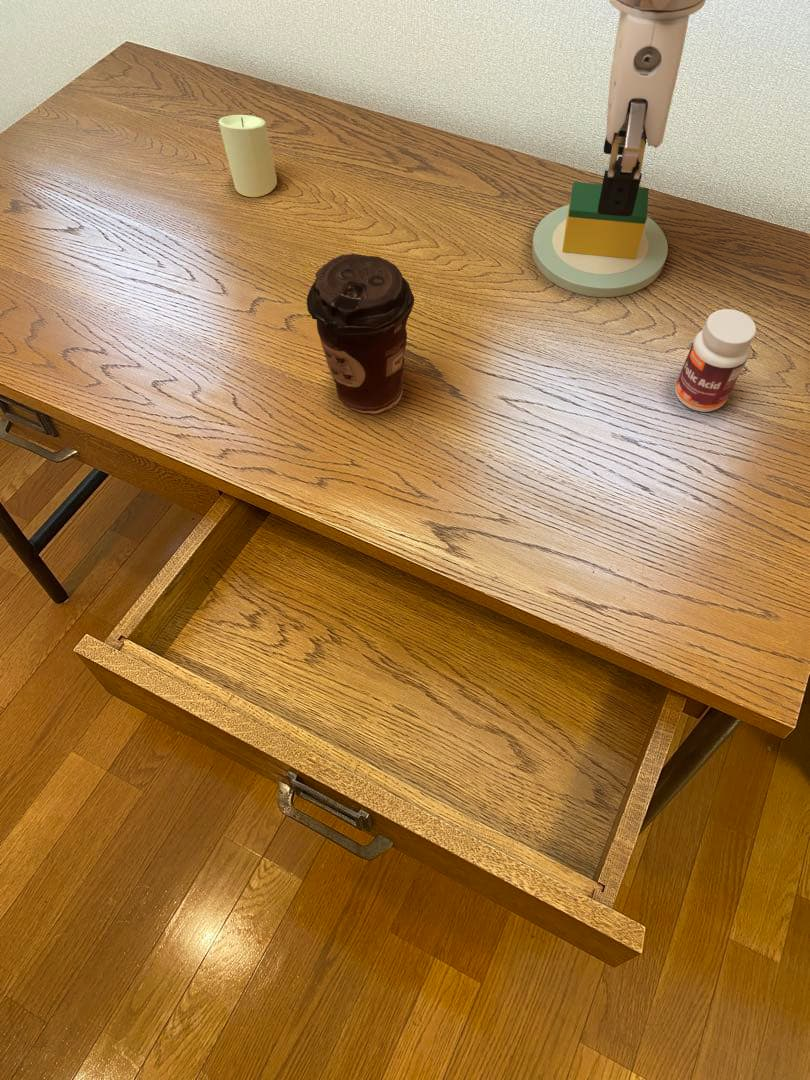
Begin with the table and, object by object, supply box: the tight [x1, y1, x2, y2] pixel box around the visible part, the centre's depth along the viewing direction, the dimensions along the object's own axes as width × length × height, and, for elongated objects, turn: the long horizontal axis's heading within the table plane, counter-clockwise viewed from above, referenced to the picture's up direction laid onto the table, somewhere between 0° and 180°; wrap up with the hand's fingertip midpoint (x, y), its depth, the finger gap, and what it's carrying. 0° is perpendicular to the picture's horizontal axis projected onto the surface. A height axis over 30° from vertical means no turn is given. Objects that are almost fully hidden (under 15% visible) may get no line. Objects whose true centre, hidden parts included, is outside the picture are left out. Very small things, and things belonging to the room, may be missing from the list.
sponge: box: [562, 181, 649, 259], centre depth 76 cm, size 8×5×5 cm, turn 79°
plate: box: [531, 204, 669, 298], centre depth 79 cm, size 14×14×1 cm
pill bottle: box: [674, 308, 757, 413], centre depth 65 cm, size 5×5×8 cm
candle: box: [217, 114, 278, 198], centre depth 84 cm, size 5×5×8 cm
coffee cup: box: [306, 253, 415, 415], centre depth 65 cm, size 9×8×13 cm
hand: (616, 182), depth 72 cm, fingers open, 9 cm apart
